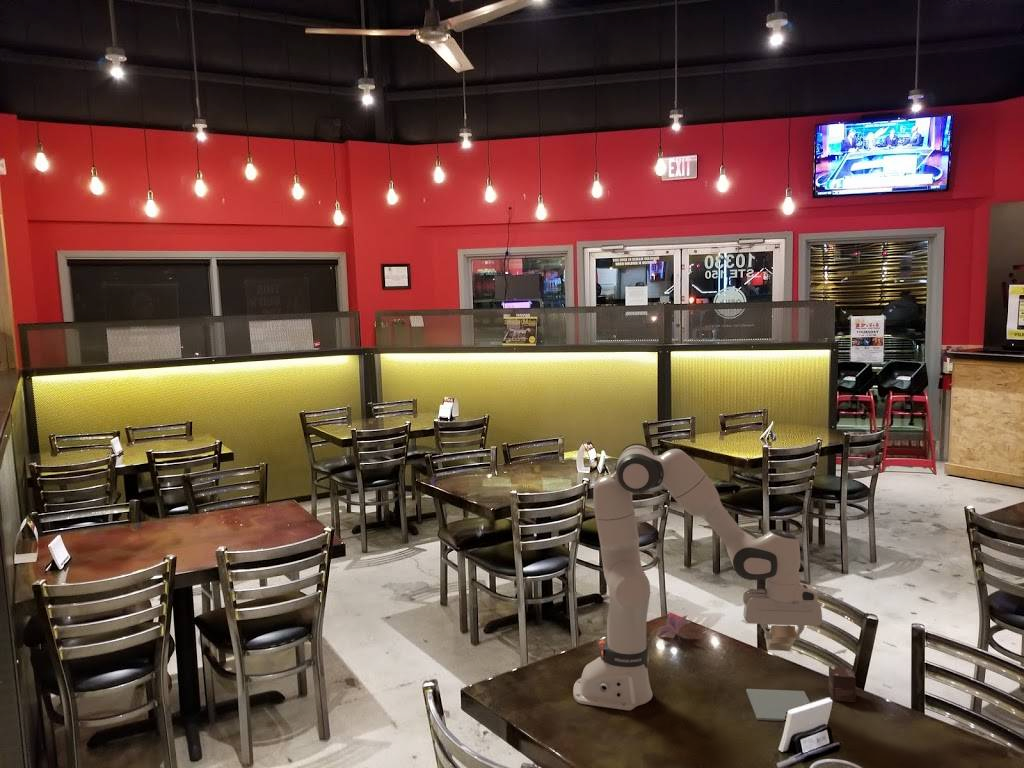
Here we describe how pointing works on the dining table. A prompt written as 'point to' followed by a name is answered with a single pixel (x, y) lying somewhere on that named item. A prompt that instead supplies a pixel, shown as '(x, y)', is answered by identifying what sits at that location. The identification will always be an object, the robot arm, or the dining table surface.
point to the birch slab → (781, 638)
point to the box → (842, 684)
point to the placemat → (775, 702)
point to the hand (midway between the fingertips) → (781, 639)
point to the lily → (673, 625)
